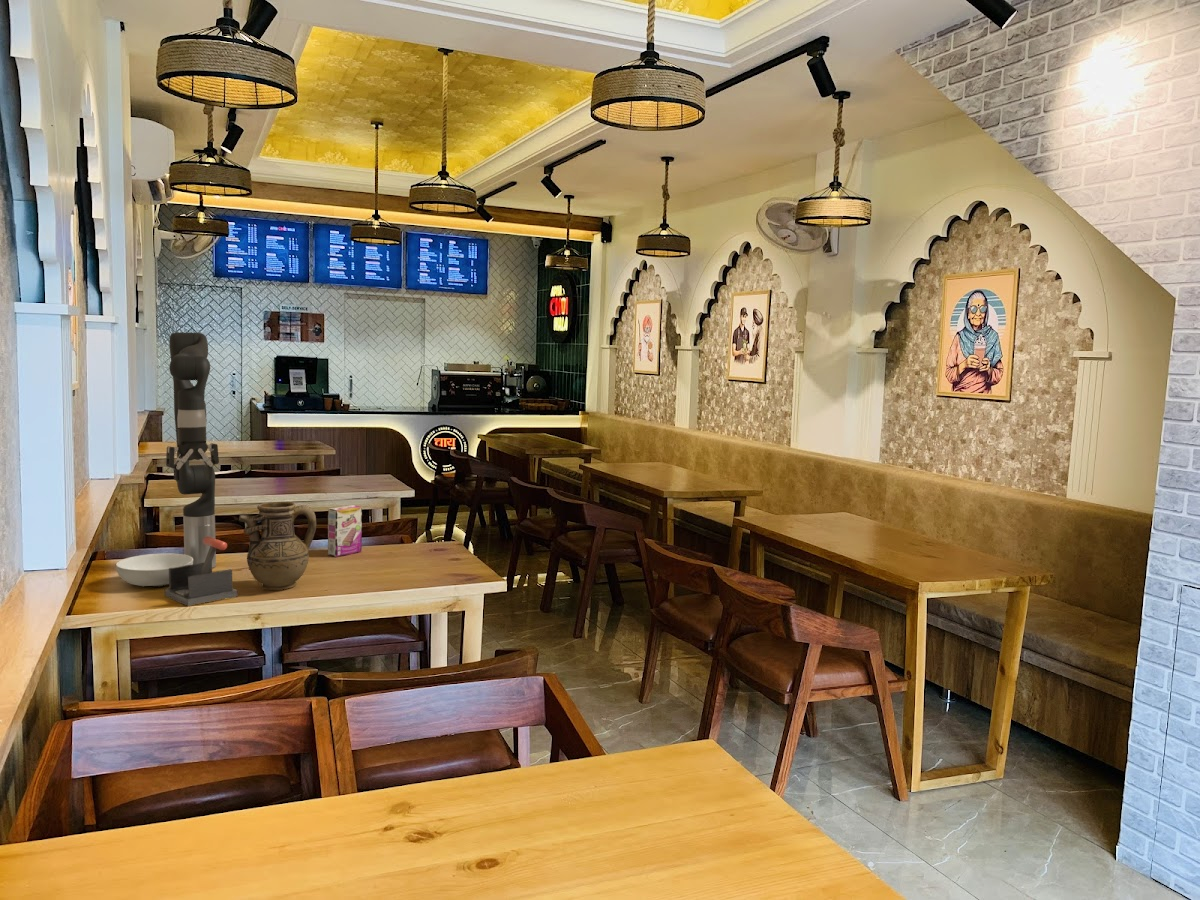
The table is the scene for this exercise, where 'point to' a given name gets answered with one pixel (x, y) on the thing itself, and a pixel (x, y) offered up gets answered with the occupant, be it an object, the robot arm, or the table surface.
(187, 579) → the switch box
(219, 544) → the switch lever
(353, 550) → the candy bar box
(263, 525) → the decorative pitcher
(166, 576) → the serving bowl
